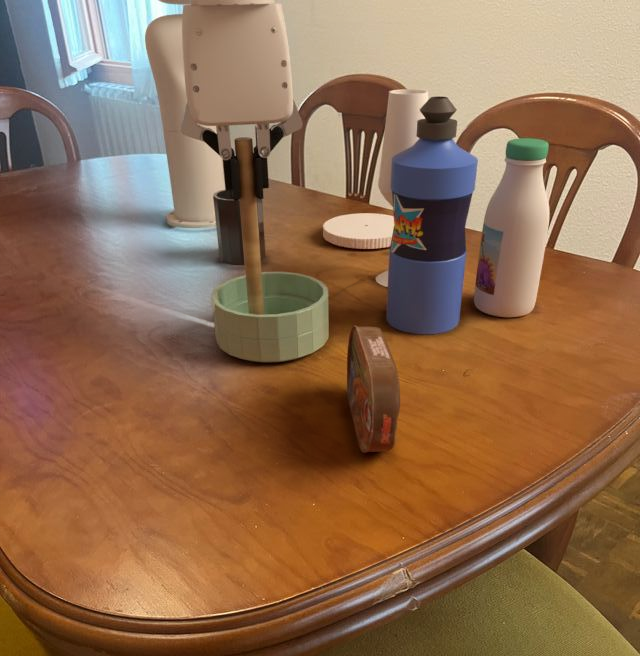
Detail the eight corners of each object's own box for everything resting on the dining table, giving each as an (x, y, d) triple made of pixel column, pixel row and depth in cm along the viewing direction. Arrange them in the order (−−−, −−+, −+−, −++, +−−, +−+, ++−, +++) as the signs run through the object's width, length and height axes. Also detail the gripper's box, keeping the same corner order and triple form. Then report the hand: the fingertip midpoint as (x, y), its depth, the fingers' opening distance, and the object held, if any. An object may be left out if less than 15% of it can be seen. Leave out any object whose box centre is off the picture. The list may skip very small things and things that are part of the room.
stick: (256, 317, 78) (242, 136, 67) (267, 321, 77) (255, 138, 66) (246, 323, 77) (230, 139, 66) (258, 326, 76) (244, 141, 65)
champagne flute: (390, 267, 97) (398, 86, 84) (431, 276, 94) (445, 90, 81) (366, 282, 93) (370, 93, 80) (408, 292, 90) (419, 96, 76)
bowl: (265, 308, 86) (262, 264, 82) (349, 333, 79) (350, 285, 76) (193, 347, 77) (187, 299, 73) (282, 378, 70) (280, 326, 67)
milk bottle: (536, 298, 87) (565, 136, 76) (531, 322, 81) (562, 149, 70) (477, 292, 89) (497, 133, 78) (468, 314, 83) (489, 146, 72)
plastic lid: (305, 240, 109) (305, 225, 107) (366, 222, 116) (366, 208, 115) (364, 261, 100) (365, 245, 98) (426, 241, 107) (427, 225, 106)
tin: (344, 385, 69) (344, 310, 64) (374, 383, 69) (376, 309, 64) (364, 473, 56) (366, 388, 52) (400, 470, 57) (406, 386, 52)
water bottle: (416, 341, 77) (433, 107, 63) (370, 314, 84) (376, 96, 70) (476, 322, 81) (504, 98, 67) (427, 298, 88) (443, 89, 74)
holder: (240, 250, 105) (234, 185, 100) (275, 258, 102) (271, 191, 96) (210, 262, 100) (202, 195, 95) (246, 271, 97) (240, 202, 91)
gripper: (311, -16, 63) (315, 183, 73) (143, -13, 61) (171, 192, 71) (325, -17, 57) (328, 201, 67) (139, -13, 55) (170, 211, 65)
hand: (247, 195), depth 69 cm, fingers closed on stick, 1 cm apart
